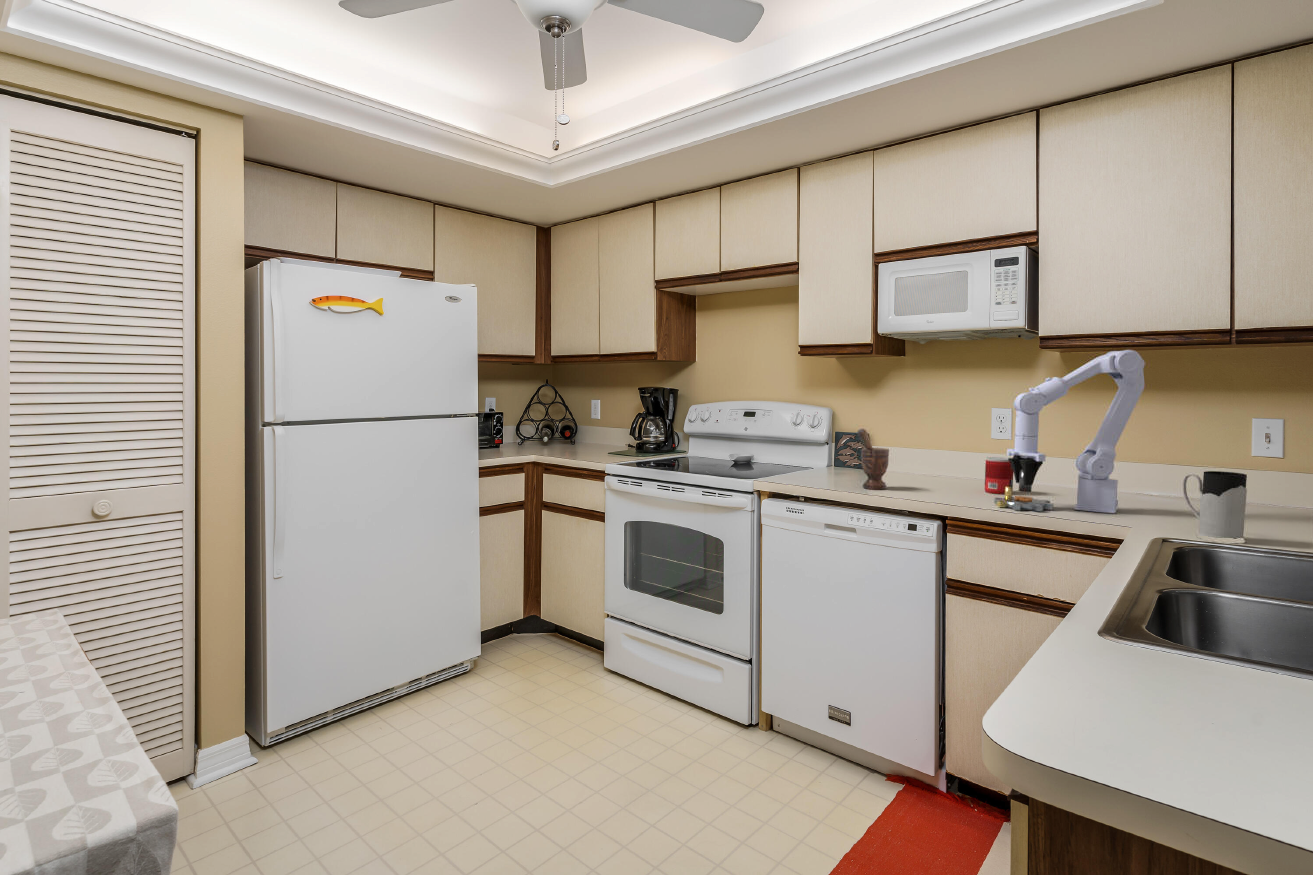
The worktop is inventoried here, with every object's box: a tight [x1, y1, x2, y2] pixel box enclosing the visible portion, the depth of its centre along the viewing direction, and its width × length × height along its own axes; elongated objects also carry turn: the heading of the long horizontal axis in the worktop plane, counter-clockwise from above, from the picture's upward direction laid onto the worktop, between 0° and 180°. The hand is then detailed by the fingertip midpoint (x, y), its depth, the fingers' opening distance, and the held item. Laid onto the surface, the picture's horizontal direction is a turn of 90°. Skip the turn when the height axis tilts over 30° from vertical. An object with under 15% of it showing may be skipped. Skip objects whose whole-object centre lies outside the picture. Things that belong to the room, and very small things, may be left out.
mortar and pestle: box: [857, 428, 890, 491], centre depth 224 cm, size 12×9×20 cm
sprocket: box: [993, 486, 1054, 512], centre depth 193 cm, size 15×15×6 cm
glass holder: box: [1182, 470, 1248, 539], centre depth 157 cm, size 9×14×15 cm, turn 9°
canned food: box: [984, 456, 1014, 496], centre depth 217 cm, size 8×8×11 cm
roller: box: [1018, 469, 1033, 493], centre depth 192 cm, size 3×3×6 cm
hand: (1024, 483), depth 192 cm, fingers closed on roller, 3 cm apart
